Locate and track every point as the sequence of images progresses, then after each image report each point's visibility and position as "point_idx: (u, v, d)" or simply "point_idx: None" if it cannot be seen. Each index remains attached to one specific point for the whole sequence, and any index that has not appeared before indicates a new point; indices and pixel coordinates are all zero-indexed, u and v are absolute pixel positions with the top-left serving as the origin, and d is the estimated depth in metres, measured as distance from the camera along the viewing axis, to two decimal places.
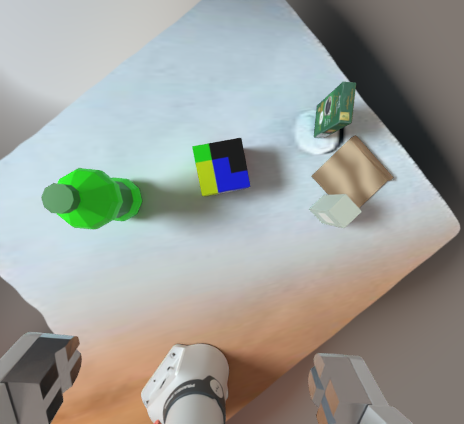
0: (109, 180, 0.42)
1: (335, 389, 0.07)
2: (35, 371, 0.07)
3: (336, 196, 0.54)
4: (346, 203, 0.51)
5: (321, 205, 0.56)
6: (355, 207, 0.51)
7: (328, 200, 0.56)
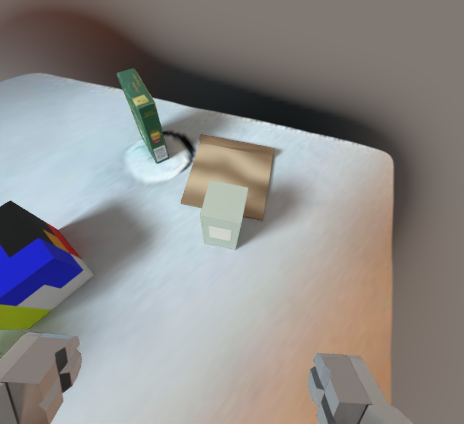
0: None
1: (335, 389, 0.07)
2: (35, 371, 0.07)
3: None
4: (219, 190, 0.31)
5: None
6: (235, 188, 0.31)
7: None
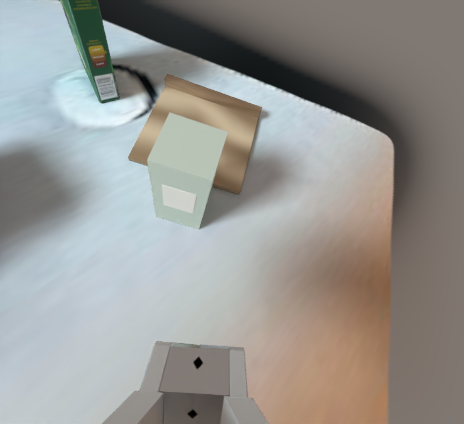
0: None
1: (197, 380, 0.07)
2: (185, 381, 0.07)
3: None
4: (183, 129, 0.20)
5: None
6: (208, 129, 0.20)
7: None
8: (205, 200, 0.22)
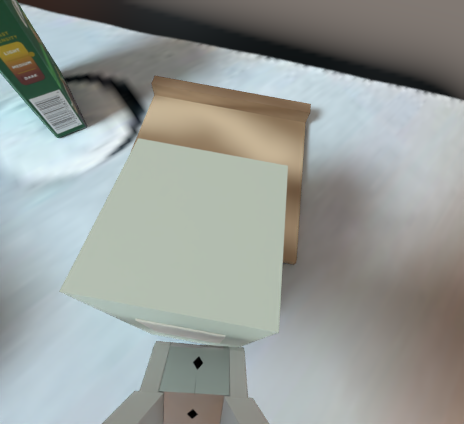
0: None
1: (197, 380, 0.07)
2: (185, 381, 0.07)
3: None
4: (174, 175, 0.08)
5: None
6: (239, 166, 0.08)
7: None
8: (249, 341, 0.09)
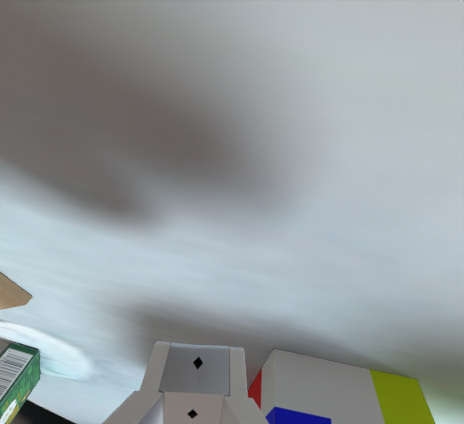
0: None
1: (197, 380, 0.07)
2: (185, 381, 0.07)
3: None
4: None
5: None
6: None
7: None
8: None
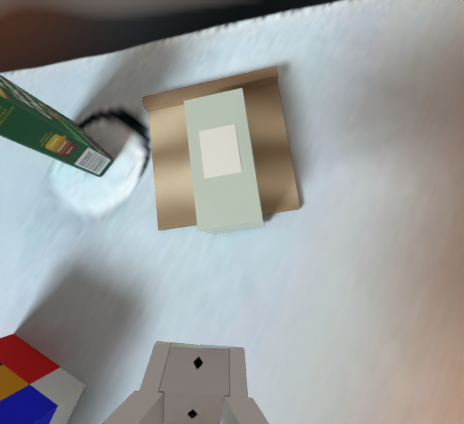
0: None
1: (197, 380, 0.07)
2: (185, 381, 0.07)
3: None
4: None
5: None
6: None
7: None
8: (246, 127, 0.20)
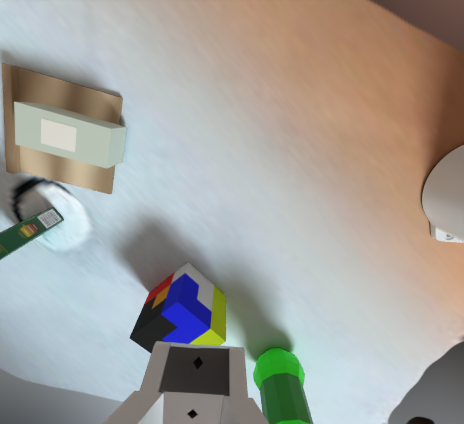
0: None
1: (197, 380, 0.07)
2: (185, 381, 0.07)
3: None
4: None
5: None
6: None
7: None
8: (45, 111, 0.29)
